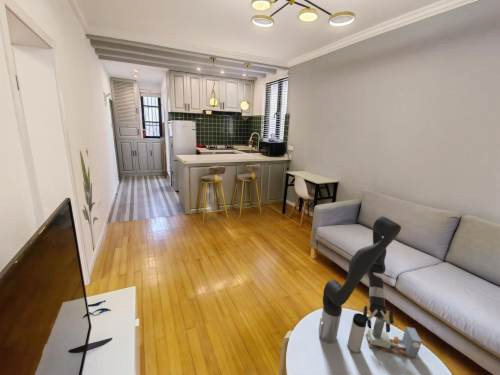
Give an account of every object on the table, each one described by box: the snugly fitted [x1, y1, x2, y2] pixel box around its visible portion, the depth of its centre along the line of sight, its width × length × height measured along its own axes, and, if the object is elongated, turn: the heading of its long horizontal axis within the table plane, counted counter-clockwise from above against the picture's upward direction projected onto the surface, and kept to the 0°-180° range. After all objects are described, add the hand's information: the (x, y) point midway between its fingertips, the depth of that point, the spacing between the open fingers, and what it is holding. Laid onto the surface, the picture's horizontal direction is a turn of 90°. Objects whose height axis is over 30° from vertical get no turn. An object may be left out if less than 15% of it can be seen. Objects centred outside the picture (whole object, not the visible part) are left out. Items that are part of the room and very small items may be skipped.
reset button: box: [393, 335, 402, 345], centre depth 123 cm, size 3×4×4 cm
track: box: [365, 333, 418, 360], centre depth 125 cm, size 22×8×2 cm, turn 77°
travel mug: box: [346, 312, 368, 354], centre depth 120 cm, size 6×7×20 cm
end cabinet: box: [401, 326, 423, 357], centre depth 121 cm, size 4×8×10 cm, turn 167°
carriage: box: [367, 317, 391, 348], centre depth 124 cm, size 9×7×13 cm
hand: (378, 330), depth 123 cm, fingers open, 8 cm apart
